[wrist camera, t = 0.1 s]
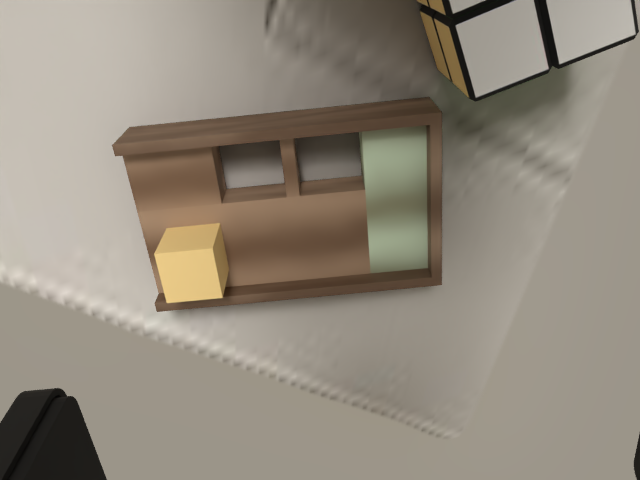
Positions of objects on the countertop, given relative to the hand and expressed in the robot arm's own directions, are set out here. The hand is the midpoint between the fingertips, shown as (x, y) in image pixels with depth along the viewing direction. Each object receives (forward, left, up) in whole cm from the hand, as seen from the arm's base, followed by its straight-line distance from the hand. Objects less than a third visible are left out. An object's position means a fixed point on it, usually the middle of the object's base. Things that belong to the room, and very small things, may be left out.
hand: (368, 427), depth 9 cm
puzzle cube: (-4, +12, -37) cm, 39 cm away
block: (+13, -11, -34) cm, 38 cm away
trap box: (+11, -3, -37) cm, 38 cm away
